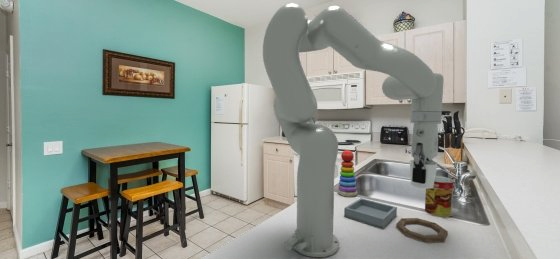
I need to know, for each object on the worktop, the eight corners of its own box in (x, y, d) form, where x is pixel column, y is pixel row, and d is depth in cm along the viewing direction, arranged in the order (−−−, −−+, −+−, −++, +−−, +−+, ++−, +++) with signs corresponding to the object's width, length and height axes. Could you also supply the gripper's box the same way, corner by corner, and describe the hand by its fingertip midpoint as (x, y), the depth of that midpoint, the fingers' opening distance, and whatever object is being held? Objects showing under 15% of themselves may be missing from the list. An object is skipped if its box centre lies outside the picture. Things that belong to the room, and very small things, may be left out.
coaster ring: (441, 247, 63) (442, 243, 63) (391, 231, 72) (392, 227, 71) (449, 230, 72) (449, 226, 72) (404, 218, 81) (404, 214, 81)
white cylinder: (421, 190, 67) (423, 164, 66) (403, 182, 73) (404, 159, 73) (441, 188, 69) (443, 163, 68) (421, 181, 75) (423, 158, 75)
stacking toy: (355, 191, 107) (356, 149, 106) (359, 197, 100) (360, 152, 98) (336, 190, 108) (337, 148, 107) (339, 197, 100) (340, 151, 99)
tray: (382, 229, 73) (383, 219, 73) (344, 216, 82) (344, 207, 81) (396, 215, 82) (396, 207, 82) (360, 205, 91) (360, 198, 91)
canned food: (421, 207, 90) (422, 175, 89) (444, 209, 88) (446, 176, 88) (430, 216, 82) (432, 181, 81) (456, 218, 81) (458, 182, 80)
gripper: (434, 119, 61) (430, 189, 62) (446, 118, 73) (443, 176, 75) (401, 118, 66) (398, 183, 67) (418, 117, 78) (415, 172, 80)
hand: (422, 179), depth 71 cm, fingers closed on white cylinder, 6 cm apart
